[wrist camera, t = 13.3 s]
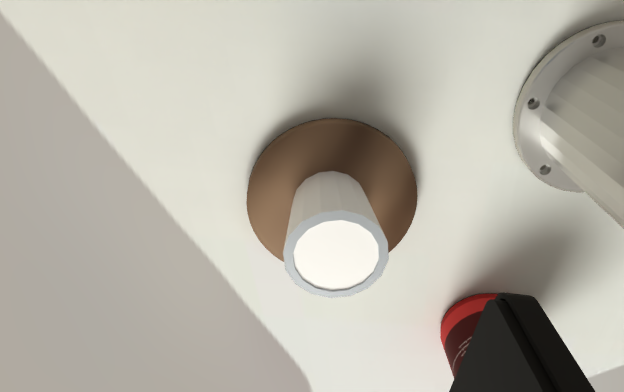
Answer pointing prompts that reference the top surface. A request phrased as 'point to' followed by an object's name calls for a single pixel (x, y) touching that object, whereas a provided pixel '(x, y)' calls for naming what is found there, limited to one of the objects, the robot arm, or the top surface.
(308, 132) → the brown round coaster
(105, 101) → the top surface
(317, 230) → the white cup
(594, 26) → the robot arm
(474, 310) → the canned food
